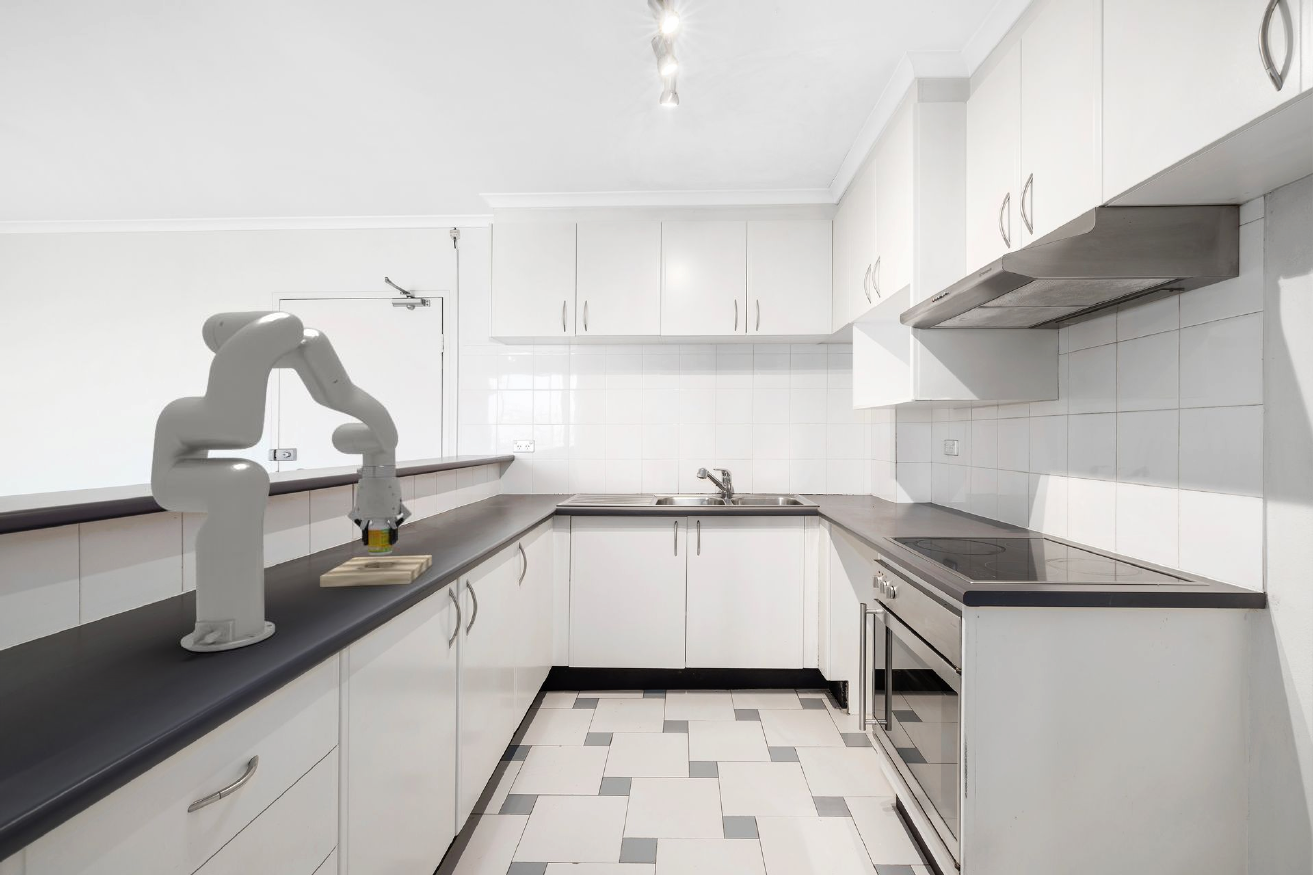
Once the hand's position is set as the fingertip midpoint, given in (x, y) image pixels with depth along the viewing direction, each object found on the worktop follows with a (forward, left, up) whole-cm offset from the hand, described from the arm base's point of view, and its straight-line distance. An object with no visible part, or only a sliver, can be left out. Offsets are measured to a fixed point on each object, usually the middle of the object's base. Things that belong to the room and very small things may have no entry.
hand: (380, 543), depth 145 cm
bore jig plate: (0, 0, -8) cm, 8 cm away
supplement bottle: (0, 0, -3) cm, 3 cm away
